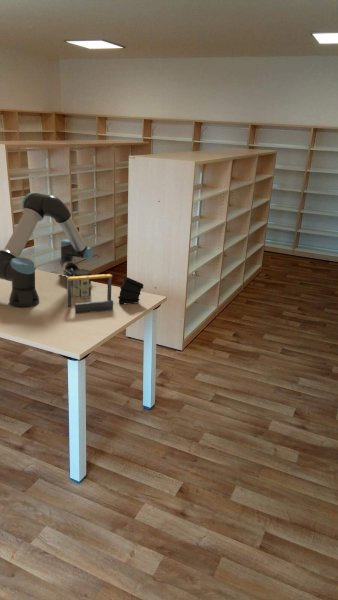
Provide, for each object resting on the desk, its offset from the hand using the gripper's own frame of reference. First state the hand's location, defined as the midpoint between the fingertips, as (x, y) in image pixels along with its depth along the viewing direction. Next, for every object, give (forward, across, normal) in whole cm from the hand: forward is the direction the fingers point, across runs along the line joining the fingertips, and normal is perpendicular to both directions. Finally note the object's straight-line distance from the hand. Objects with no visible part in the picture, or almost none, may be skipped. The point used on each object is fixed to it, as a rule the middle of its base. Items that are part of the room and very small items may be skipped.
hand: (80, 279), depth 253 cm
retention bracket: (+27, +2, -7) cm, 28 cm away
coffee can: (+8, +1, -7) cm, 10 cm away
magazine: (+26, -22, -7) cm, 34 cm away
